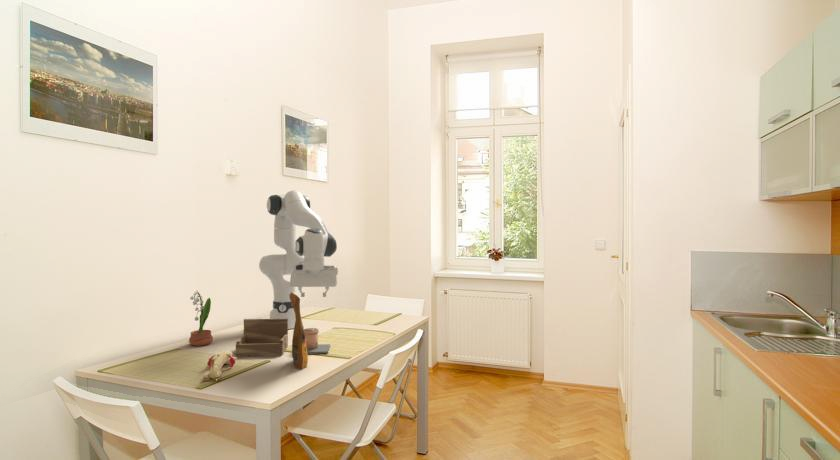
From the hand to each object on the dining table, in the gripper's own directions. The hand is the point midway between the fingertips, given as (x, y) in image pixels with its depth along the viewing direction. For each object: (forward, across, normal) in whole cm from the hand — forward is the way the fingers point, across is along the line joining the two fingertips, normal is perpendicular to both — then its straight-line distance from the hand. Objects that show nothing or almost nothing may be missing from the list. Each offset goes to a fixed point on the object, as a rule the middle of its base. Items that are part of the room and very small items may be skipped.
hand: (313, 296), depth 207 cm
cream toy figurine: (+24, +32, +27) cm, 48 cm away
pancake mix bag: (+23, +4, +21) cm, 31 cm away
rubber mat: (+23, -2, +2) cm, 24 cm away
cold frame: (+24, +22, +2) cm, 32 cm away
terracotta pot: (+22, +1, +1) cm, 22 cm away
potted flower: (+24, +52, -13) cm, 59 cm away
